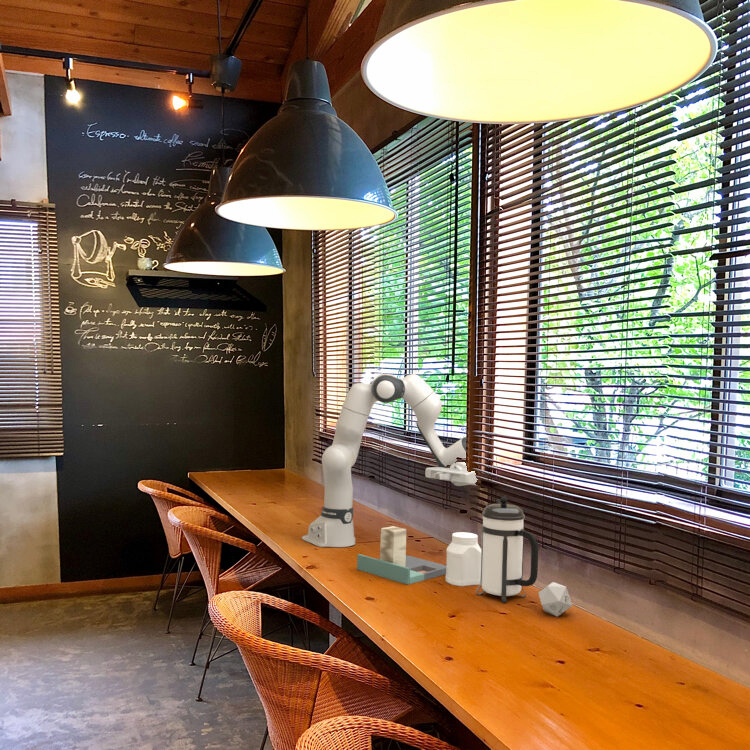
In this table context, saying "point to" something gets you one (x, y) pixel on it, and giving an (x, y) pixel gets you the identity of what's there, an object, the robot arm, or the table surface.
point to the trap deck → (401, 569)
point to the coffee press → (505, 551)
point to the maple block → (393, 545)
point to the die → (555, 599)
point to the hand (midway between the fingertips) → (436, 476)
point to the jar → (463, 560)
